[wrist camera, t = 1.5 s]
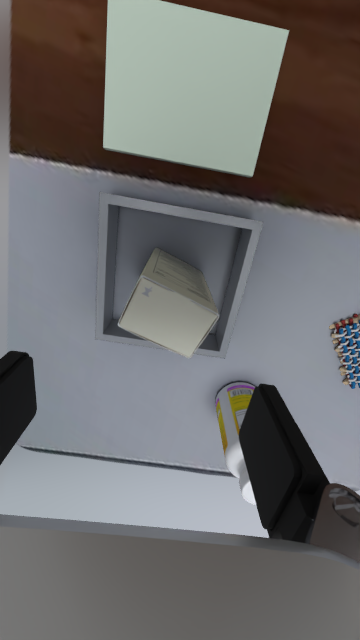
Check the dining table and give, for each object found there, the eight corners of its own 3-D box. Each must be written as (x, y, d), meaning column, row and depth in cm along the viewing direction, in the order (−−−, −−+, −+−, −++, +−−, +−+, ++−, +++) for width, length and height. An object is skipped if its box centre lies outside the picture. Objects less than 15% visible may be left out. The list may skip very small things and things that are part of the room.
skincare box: (138, 279, 29) (110, 325, 17) (155, 245, 27) (136, 271, 16) (187, 305, 30) (190, 362, 19) (206, 273, 28) (221, 316, 17)
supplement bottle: (236, 423, 37) (261, 520, 26) (205, 399, 36) (216, 493, 24) (271, 397, 35) (315, 490, 24) (239, 371, 34) (270, 458, 22)
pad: (284, 38, 20) (289, 30, 19) (249, 177, 24) (252, 176, 23) (111, -2, 19) (108, -12, 18) (106, 149, 23) (103, 147, 22)
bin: (252, 220, 26) (263, 221, 22) (220, 341, 32) (224, 358, 28) (111, 194, 25) (99, 191, 21) (105, 324, 31) (95, 339, 27)
